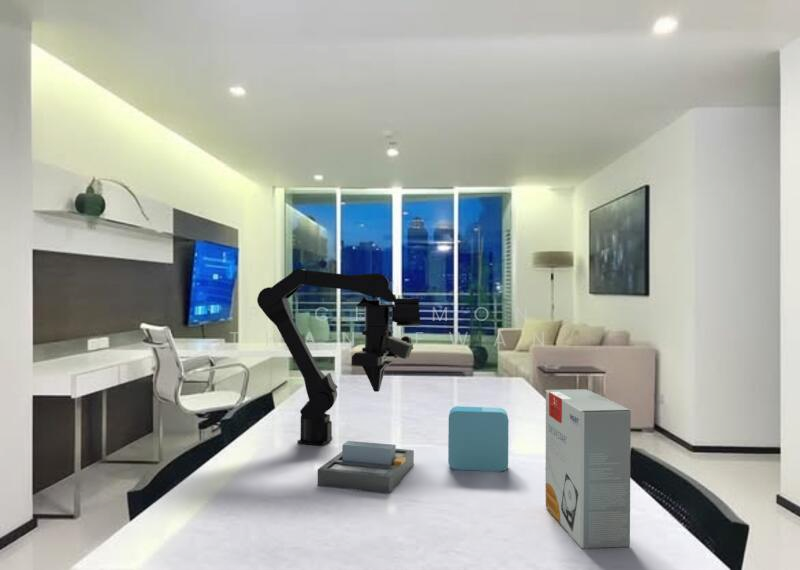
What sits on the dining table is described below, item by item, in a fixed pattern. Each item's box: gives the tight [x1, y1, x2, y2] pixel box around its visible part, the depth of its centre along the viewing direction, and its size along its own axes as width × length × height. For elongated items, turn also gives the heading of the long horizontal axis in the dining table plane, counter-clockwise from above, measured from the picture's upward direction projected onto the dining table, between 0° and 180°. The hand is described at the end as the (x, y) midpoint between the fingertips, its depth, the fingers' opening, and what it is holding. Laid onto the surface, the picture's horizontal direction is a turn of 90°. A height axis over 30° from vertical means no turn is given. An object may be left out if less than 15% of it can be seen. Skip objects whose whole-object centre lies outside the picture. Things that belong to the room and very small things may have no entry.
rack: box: [317, 448, 415, 495], centre depth 112 cm, size 14×17×4 cm
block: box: [341, 440, 397, 465], centre depth 112 cm, size 10×3×6 cm, turn 74°
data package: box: [447, 405, 509, 473], centre depth 117 cm, size 12×4×12 cm, turn 82°
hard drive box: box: [545, 388, 632, 549], centre depth 89 cm, size 16×8×20 cm, turn 5°
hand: (376, 391), depth 136 cm, fingers closed
